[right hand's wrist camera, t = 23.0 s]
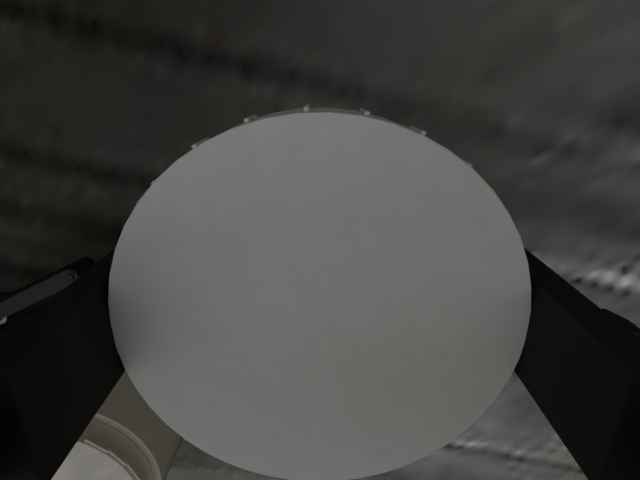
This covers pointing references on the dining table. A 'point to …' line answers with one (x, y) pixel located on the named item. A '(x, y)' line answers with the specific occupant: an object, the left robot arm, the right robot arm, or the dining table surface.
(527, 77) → the dining table surface
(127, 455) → the jar
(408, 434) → the lid
